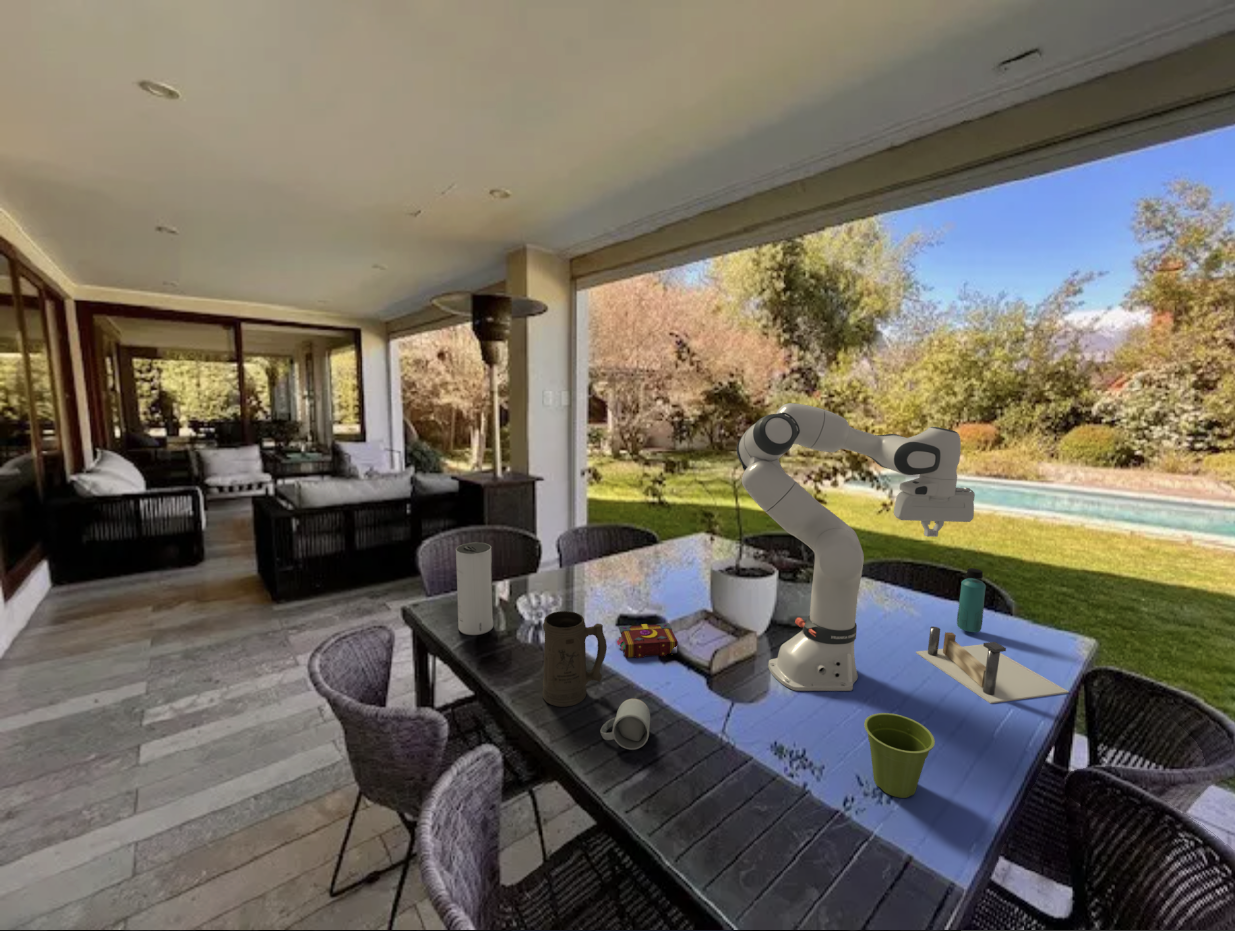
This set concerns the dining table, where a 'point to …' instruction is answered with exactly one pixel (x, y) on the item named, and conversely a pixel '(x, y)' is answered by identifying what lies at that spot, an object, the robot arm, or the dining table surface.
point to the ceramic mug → (629, 725)
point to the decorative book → (647, 640)
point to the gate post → (992, 666)
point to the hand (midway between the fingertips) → (930, 536)
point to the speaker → (474, 588)
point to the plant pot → (897, 752)
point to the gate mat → (1010, 677)
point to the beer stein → (569, 658)
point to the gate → (963, 659)
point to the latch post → (933, 641)
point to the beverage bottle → (971, 601)
